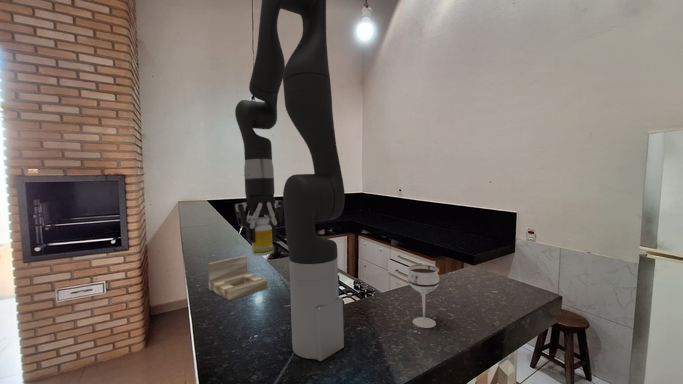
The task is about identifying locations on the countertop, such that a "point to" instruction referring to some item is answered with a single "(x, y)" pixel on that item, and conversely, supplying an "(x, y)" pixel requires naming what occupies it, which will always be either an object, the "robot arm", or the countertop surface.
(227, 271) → the socket stand
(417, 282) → the wineglass
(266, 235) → the supplement bottle
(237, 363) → the countertop surface
